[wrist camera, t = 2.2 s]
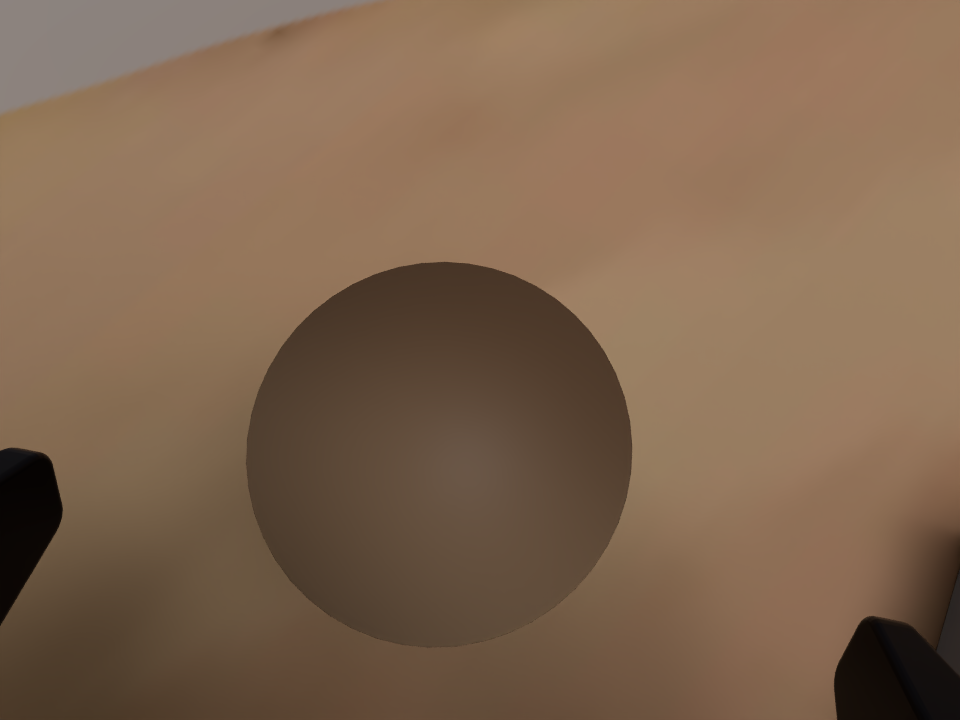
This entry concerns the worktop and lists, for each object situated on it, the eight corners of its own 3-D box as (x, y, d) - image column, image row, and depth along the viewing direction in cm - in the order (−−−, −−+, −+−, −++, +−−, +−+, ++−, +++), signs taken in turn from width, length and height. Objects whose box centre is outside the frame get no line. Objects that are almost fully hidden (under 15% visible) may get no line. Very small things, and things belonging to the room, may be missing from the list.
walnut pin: (524, 623, 17) (540, 720, 6) (381, 556, 17) (177, 542, 7) (583, 477, 18) (687, 344, 7) (446, 417, 18) (351, 211, 8)
